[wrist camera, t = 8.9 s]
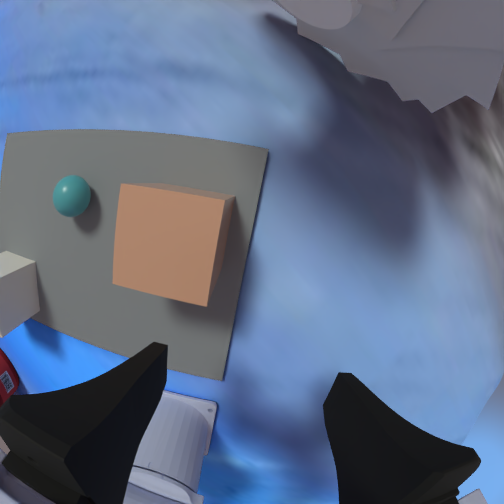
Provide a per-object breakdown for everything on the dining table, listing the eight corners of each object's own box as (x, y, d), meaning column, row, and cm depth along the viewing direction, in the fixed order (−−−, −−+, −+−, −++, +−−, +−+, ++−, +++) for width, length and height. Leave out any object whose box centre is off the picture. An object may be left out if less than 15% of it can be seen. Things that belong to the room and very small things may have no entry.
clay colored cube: (221, 269, 19) (206, 306, 13) (152, 254, 18) (112, 283, 13) (235, 195, 17) (225, 200, 12) (161, 183, 17) (120, 183, 11)
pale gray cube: (40, 310, 20) (2, 338, 14) (10, 296, 20) (-26, 318, 14) (35, 261, 19) (-10, 282, 13) (6, 250, 18) (-35, 267, 13)
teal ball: (95, 217, 18) (72, 222, 15) (67, 211, 18) (43, 216, 15) (100, 176, 17) (77, 176, 14) (71, 173, 17) (47, 173, 14)
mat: (222, 377, 21) (221, 380, 21) (8, 303, 20) (5, 304, 20) (268, 150, 17) (268, 149, 17) (10, 133, 16) (7, 133, 16)
